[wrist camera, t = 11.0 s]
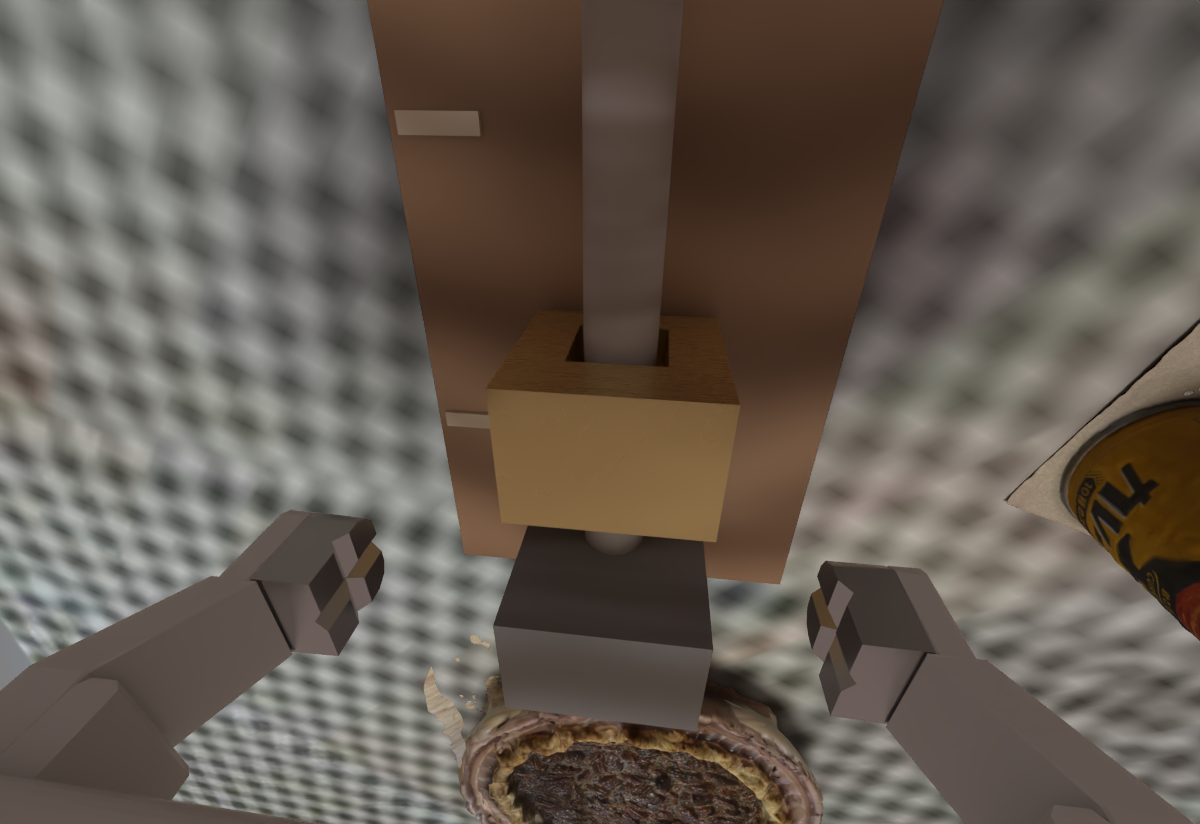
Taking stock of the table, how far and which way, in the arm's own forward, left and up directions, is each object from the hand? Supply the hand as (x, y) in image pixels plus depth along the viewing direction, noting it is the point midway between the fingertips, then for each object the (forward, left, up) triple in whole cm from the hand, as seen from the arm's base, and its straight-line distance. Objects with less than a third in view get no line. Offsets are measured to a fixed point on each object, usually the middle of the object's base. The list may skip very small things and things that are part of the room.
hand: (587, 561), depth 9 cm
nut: (0, 0, -9) cm, 9 cm away
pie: (+28, +2, -11) cm, 30 cm away
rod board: (-1, 0, -11) cm, 11 cm away
